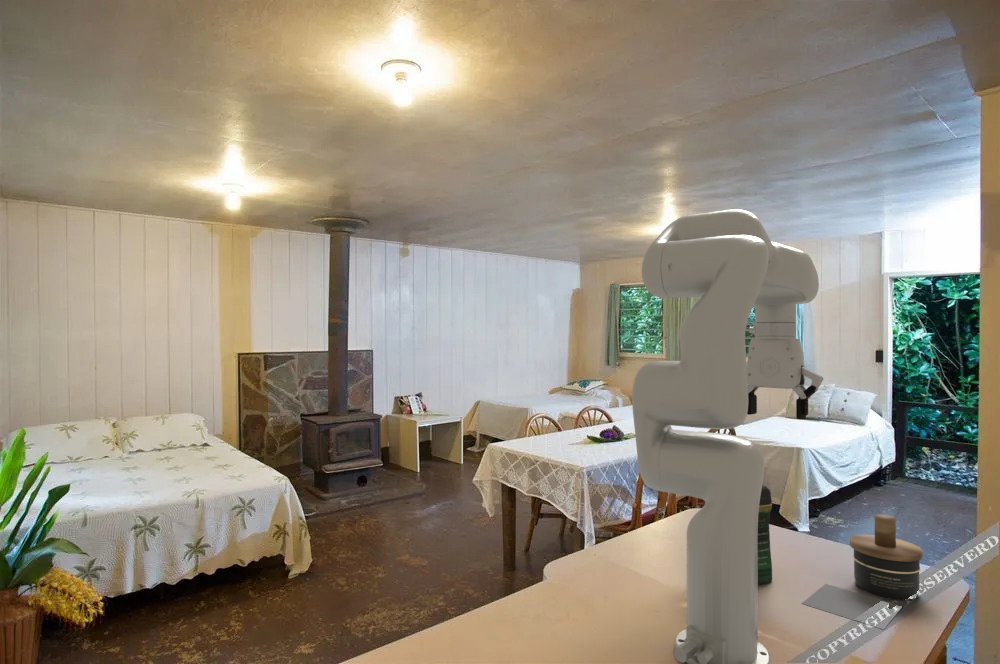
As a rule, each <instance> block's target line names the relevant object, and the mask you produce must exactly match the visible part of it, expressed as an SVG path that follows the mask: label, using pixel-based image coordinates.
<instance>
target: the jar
mask: <svg viewBox="0 0 1000 664" xmlns="http://www.w3.org/2000/svg"><path fill="white" fill-rule="evenodd" d="M852 557H853V567H854V568H853V571H854V572H853V574H854V577H853V578H854V580H855V584H856V586H857V587H858V588H859V589H860V590H862V591H864V592H866V593H868V594H871V595H873V596H877V597H879V598H883V599H887V598H889V599H888V600H894V601H895V600H896V601H906V600H905V599H908V598H909V597H910V596H912V595H914V594H916V593H917V591H918V590H919V591H920V572H921V566H920V560H919V561H912V562H902V561H892V560H886V559H881V558H876V557H872V556H869V555H866V554H863V553H861V552H858V551H856V550H855V549H853V556H852Z"/></svg>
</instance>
